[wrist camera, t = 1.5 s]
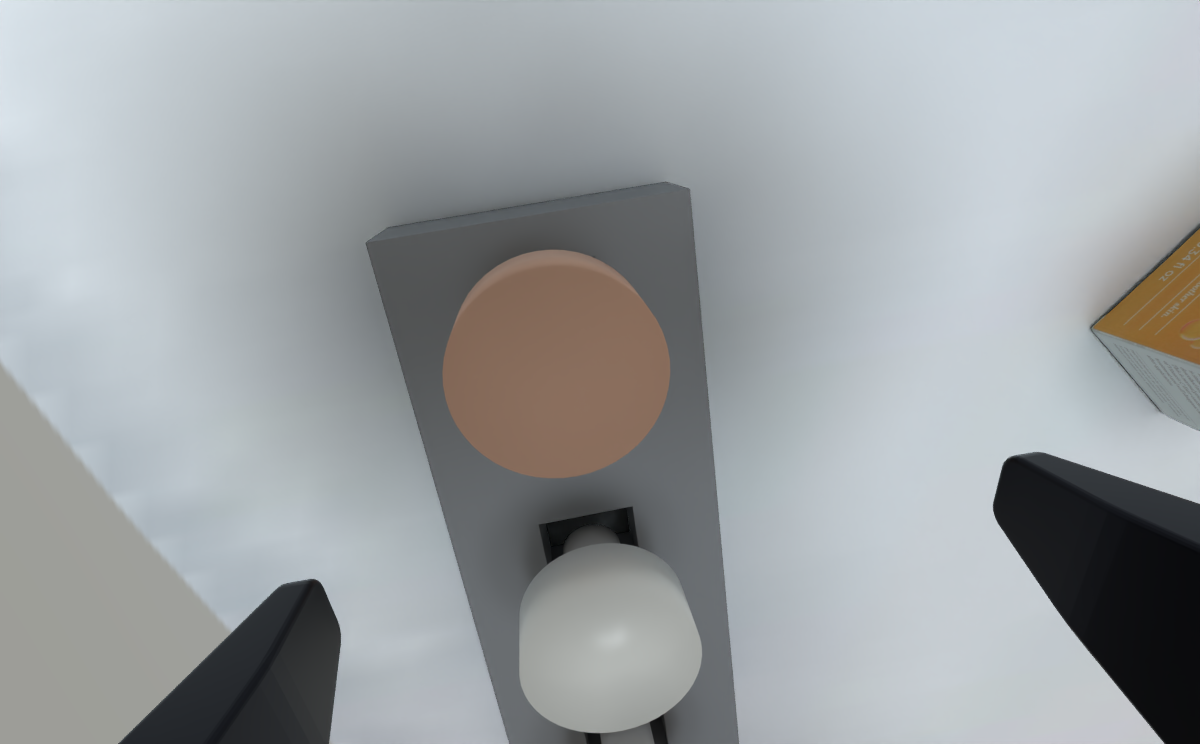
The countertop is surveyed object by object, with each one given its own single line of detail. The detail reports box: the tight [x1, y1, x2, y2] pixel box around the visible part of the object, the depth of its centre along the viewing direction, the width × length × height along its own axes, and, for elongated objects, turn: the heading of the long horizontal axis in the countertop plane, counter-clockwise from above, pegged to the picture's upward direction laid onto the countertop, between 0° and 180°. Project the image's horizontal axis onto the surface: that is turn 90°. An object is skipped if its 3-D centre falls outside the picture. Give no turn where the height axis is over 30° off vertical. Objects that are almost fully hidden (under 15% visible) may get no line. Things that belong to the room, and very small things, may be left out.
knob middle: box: [519, 524, 702, 733], centre depth 19 cm, size 5×5×5 cm
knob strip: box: [366, 182, 739, 744], centre depth 22 cm, size 23×9×3 cm, turn 8°
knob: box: [442, 250, 670, 478], centre depth 16 cm, size 5×5×5 cm
